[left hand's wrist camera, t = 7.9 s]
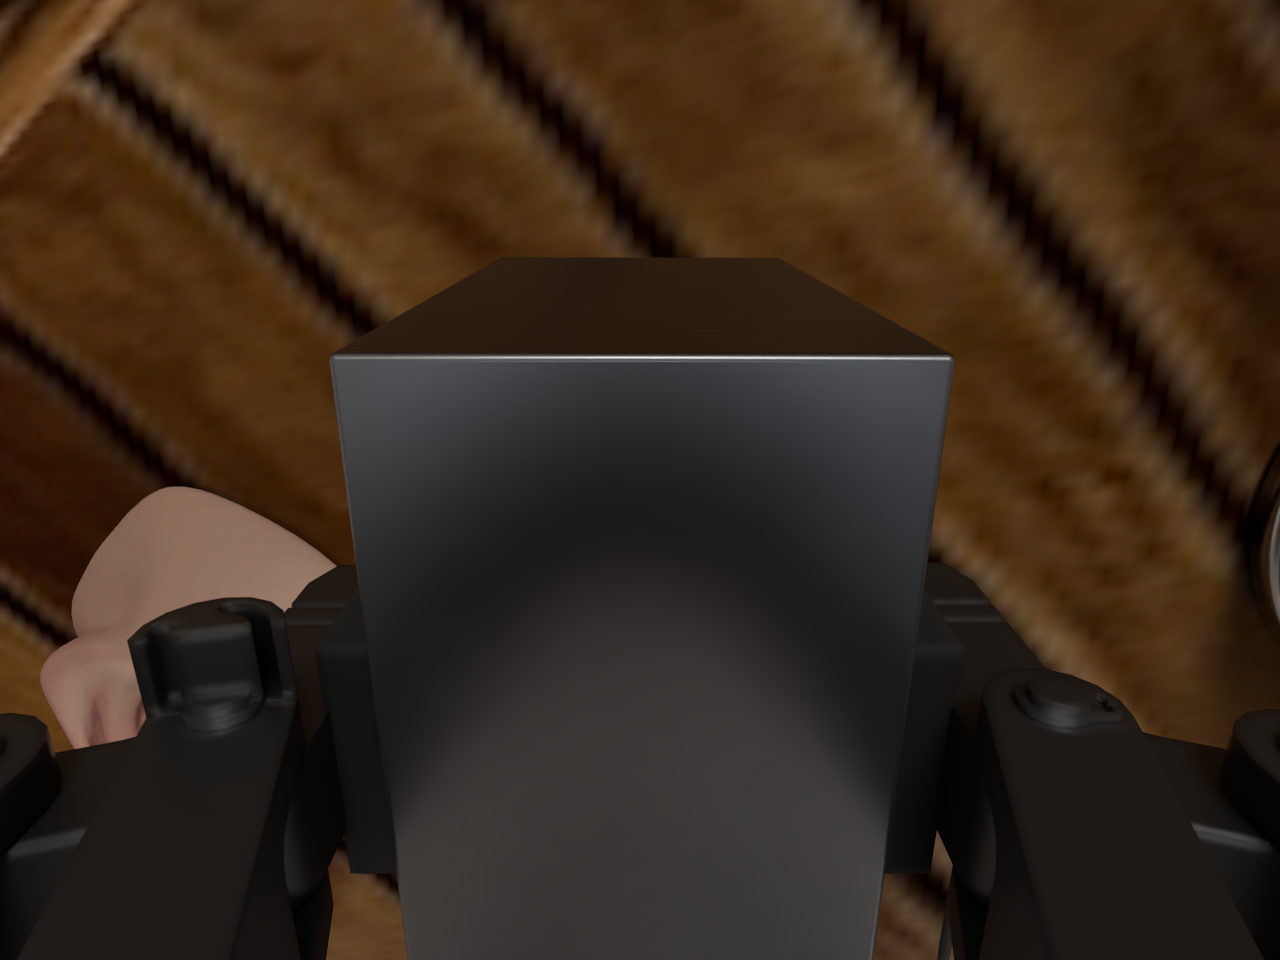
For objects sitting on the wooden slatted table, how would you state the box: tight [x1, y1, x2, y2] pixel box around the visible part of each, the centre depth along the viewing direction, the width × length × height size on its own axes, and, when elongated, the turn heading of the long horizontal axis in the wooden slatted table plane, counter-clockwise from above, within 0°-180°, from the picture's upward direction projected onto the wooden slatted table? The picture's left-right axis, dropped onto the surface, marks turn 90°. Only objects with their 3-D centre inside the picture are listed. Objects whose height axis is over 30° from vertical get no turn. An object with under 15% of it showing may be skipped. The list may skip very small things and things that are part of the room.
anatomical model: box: [40, 487, 336, 749], centre depth 28 cm, size 13×4×12 cm
